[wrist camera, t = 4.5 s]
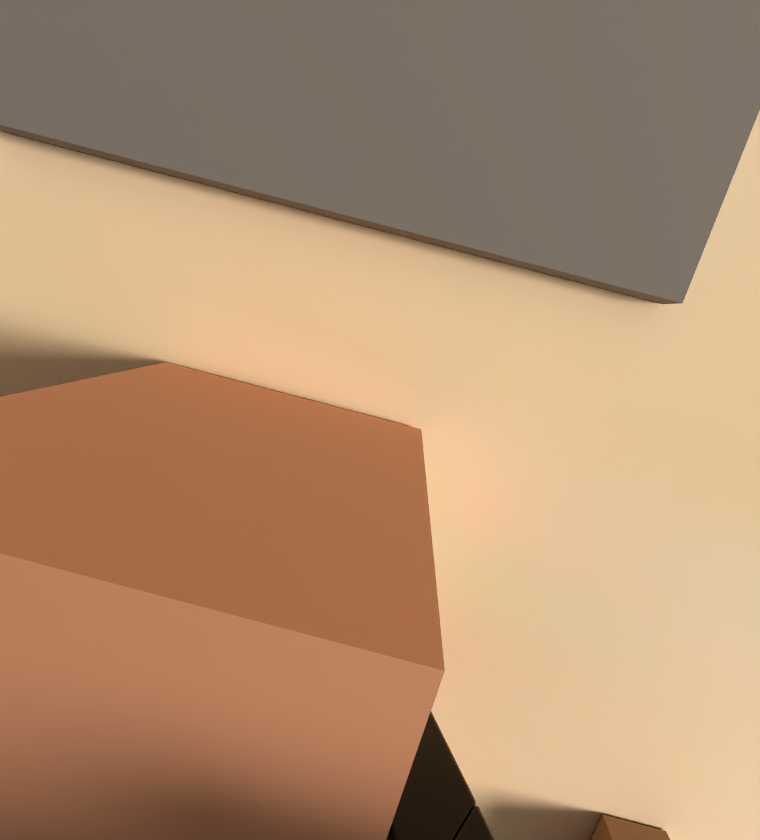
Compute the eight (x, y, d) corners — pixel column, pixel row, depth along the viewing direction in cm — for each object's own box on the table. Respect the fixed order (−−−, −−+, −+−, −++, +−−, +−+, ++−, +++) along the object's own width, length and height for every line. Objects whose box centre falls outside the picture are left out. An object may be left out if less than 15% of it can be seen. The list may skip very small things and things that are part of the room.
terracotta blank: (327, 754, 11) (228, 1296, 5) (118, 698, 11) (-238, 1170, 5) (421, 429, 9) (444, 671, 3) (165, 362, 9) (-333, 466, 3)
